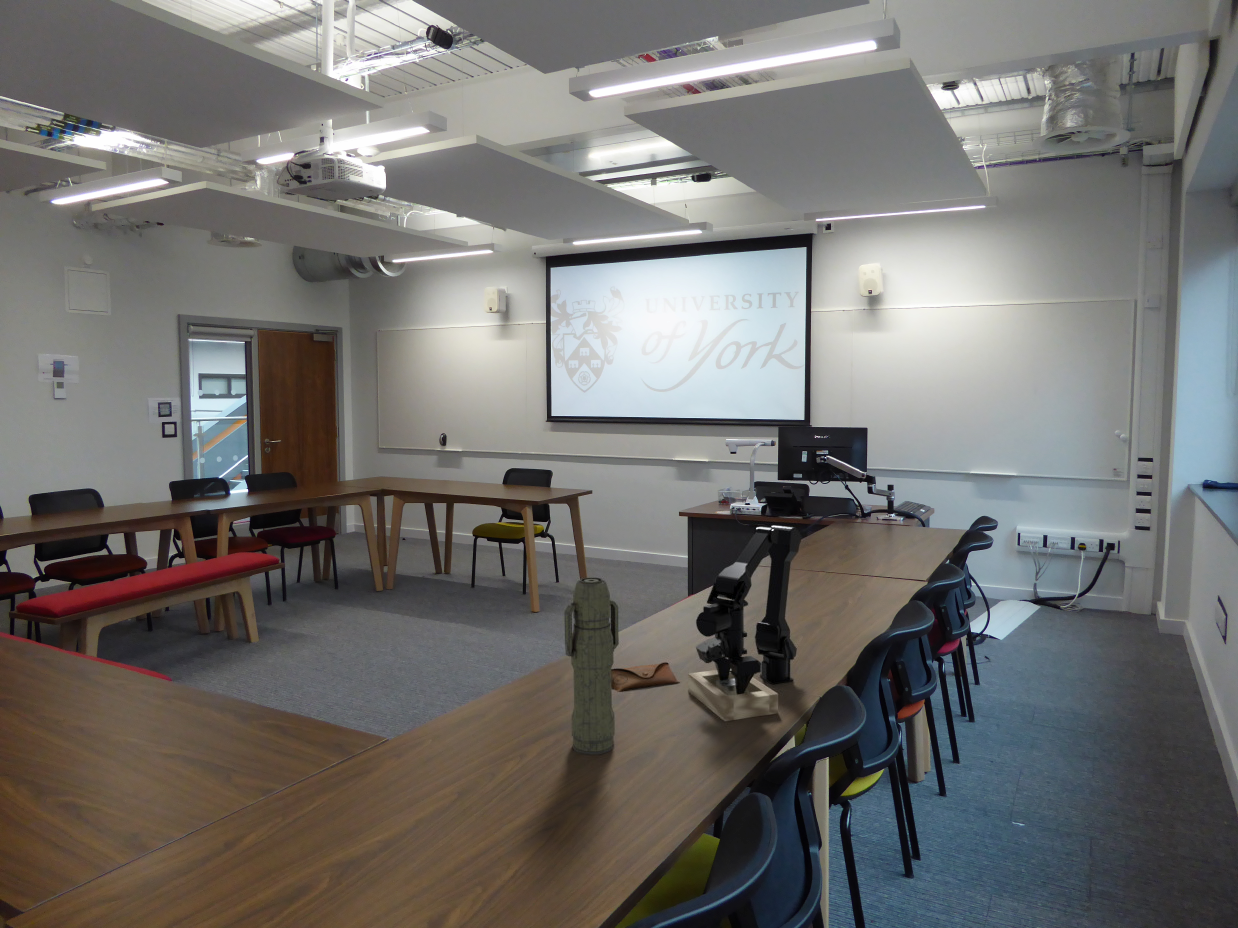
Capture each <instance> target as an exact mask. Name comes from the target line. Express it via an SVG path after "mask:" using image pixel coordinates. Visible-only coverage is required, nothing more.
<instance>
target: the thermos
mask: <svg viewBox="0 0 1238 928" xmlns="http://www.w3.org/2000/svg"><path fill="white" fill-rule="evenodd" d="M607 583H608V582H607V581H606V580H604V579H602V578H600V577H585V578H581V579H580V580H577V581H576V583H575V587H574V589H573V593H572V596H573V597H572V600H573V602H571V603H570V604H568V605H567V606H566V608H565V610H564V614H563V615H564V649H565V656H568V657H570V664H571V666H572V669H573V709H572V713H571V737H572V748H573V750H574V751H575V752H577V753H579V754H582V755H587V756H588V755H591V756H593V755H594V756H595V755H602V754H606V753H609V752H610V751H612V750H613V749H614V747H615V740H614V739H615V738H614V737H615V734H616V733H615V730H616V729H615V726H616V725H615V724H616V723H615V712H614V708H613V706H612V705H613V703H612V702H613V701H612V693H613V692H612V689H613V688H612V687H611V669H613V668H612V667H613V665H614V652H615V650H616V649H617V647H618V646H619V640H620V639H619V606H618V604H617V602H616V601H614V600H613V599H611V593H610V590H609V585H608V584H607ZM572 615H573V616H572ZM573 619H574V623H573Z"/></svg>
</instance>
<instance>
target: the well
mask: <svg viewBox="0 0 1238 928" xmlns="http://www.w3.org/2000/svg"><path fill="white" fill-rule="evenodd" d="M730 670H731V669H730ZM687 678H688V681H687V683H688V687H687V688H688V689H687V691H688V692H689V694H691V695H692V696H693V697H694V698H696V699H697V700H698V701H700V703H702V704H703V705H704V706H706V708H708V709H709V710H710V711H711V712H713V713H714V714H715V715H716V716H718V717H719V718H720V719H721V720H723V721H724V722H729V721H736V720H741V719H748V718H756V717H760V716H761V717H762V716H768V715H776V714H779V694H778V692H776V691H774V690H773V689H771V688H770V687H768V686H766V685H765V684H763V682H761V681H759V680H758V679H757V678H754V676H753V677H752V679H751V681H750V682H749V684H748V686H747V693H744V694H737V695H730V696H727V695H726V694H725V693H723V692H722V691H721V690H719V689H718V688H717V687H716V681H719V680H720V679H719V675H718V672H717V669H713V670H712V669H711V670H707V671H699V672H690V673H689V672H688V674H687ZM734 678H735V677H734V676H733V675H732V674H731V673H729V678H728V679H734Z"/></svg>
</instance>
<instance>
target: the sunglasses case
mask: <svg viewBox="0 0 1238 928" xmlns="http://www.w3.org/2000/svg"><path fill="white" fill-rule="evenodd" d="M673 684H675V685H676V684H680V681H679V680H678V679H677V678H676V676H675V675H674V672H673V671H672V669H671V666H670V663H669V662H666V661H665V662H661V663H655V664H647V665H639V666H630V667H623V668H619V667H615V668H611V688H612V689H613V690H615V691H616V692H618V693H619V692H620V693H621V692H625V691H629V690H636V689H642V688H650V687H658V686H664V685H673Z"/></svg>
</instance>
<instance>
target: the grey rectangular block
mask: <svg viewBox="0 0 1238 928" xmlns="http://www.w3.org/2000/svg"><path fill="white" fill-rule="evenodd" d="M716 687H717V688H718V689H719V690H721V691H722V692H723V693H725V694H726V695H727V696H730V695H737V693H736V685H735V678H734V679H727V680H719V681H716ZM744 693H747V688H746V690H745V692H744Z"/></svg>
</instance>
